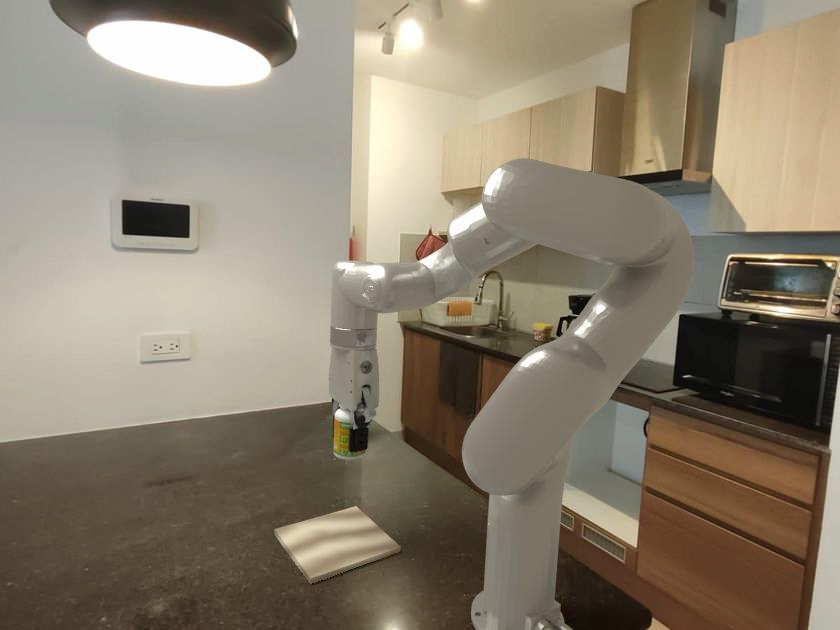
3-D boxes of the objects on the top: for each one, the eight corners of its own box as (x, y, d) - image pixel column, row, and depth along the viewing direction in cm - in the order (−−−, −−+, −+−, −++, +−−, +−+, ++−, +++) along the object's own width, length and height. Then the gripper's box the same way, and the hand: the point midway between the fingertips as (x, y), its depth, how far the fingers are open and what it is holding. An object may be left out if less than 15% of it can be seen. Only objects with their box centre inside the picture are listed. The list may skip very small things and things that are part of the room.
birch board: (400, 552, 86) (400, 547, 86) (310, 584, 77) (310, 578, 77) (356, 511, 99) (356, 506, 99) (274, 534, 90) (274, 529, 90)
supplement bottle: (334, 461, 83) (336, 403, 82) (332, 448, 88) (333, 393, 87) (368, 459, 85) (370, 402, 83) (363, 446, 90) (365, 392, 88)
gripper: (400, 345, 79) (395, 458, 81) (351, 327, 93) (347, 424, 95) (356, 349, 75) (352, 468, 77) (311, 329, 89) (308, 430, 91)
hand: (349, 442), depth 86 cm, fingers closed on supplement bottle, 5 cm apart
